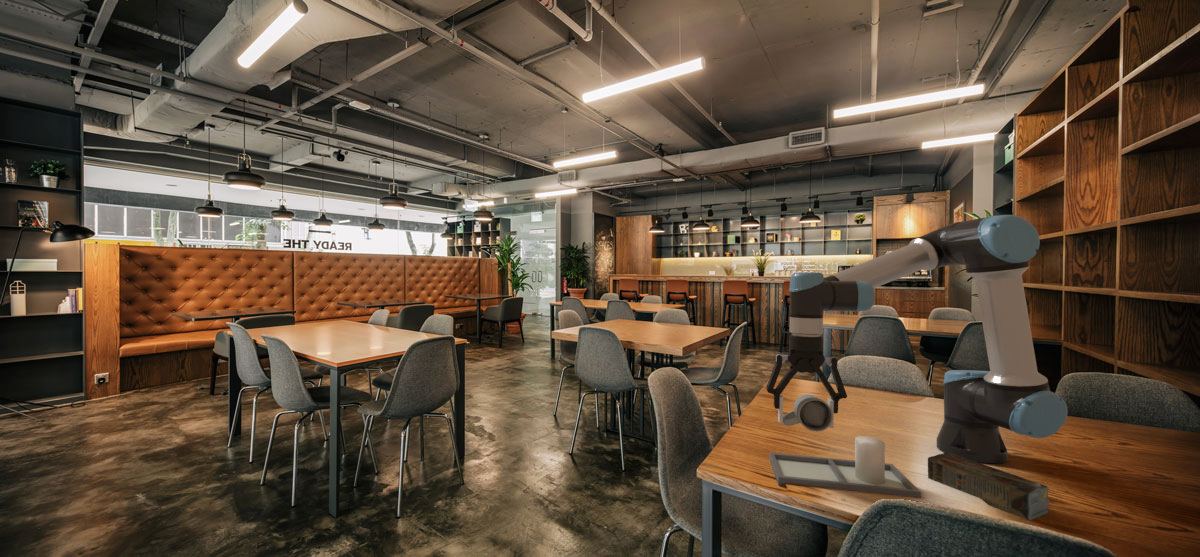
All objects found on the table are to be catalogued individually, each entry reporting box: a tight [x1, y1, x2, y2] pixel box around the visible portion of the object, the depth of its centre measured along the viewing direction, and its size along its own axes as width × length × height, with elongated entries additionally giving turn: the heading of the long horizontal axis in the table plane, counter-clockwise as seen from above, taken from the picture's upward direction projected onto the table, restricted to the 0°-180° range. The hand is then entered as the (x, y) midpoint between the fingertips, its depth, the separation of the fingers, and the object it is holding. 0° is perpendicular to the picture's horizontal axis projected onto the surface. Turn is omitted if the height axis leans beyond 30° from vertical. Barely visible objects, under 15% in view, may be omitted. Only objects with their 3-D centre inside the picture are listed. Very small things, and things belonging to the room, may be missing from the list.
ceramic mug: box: [783, 394, 833, 433], centre depth 107 cm, size 11×8×8 cm
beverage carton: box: [927, 452, 1050, 521], centre depth 96 cm, size 8×19×7 cm, turn 23°
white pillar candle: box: [854, 435, 886, 484], centre depth 103 cm, size 6×6×9 cm
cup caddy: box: [769, 452, 922, 499], centre depth 104 cm, size 29×15×2 cm, turn 76°
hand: (805, 423), depth 106 cm, fingers closed on ceramic mug, 11 cm apart
